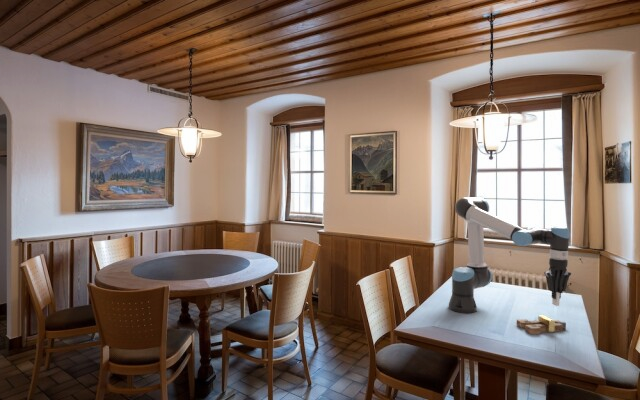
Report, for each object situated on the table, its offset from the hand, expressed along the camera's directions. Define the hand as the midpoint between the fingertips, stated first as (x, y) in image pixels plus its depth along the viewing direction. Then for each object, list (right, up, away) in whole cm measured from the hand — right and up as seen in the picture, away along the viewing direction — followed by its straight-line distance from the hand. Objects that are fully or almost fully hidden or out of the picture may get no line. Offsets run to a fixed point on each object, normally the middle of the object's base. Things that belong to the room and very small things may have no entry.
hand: (555, 304), depth 177 cm
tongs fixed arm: (-7, -12, -2) cm, 14 cm away
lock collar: (-5, -12, 0) cm, 13 cm away
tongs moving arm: (-5, -12, +3) cm, 13 cm away
